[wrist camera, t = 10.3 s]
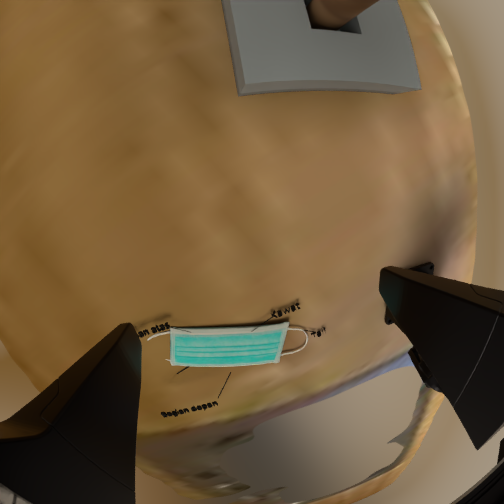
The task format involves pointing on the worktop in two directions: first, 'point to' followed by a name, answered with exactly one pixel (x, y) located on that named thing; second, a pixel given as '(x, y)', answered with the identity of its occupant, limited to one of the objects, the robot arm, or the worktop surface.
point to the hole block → (318, 49)
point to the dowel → (335, 12)
